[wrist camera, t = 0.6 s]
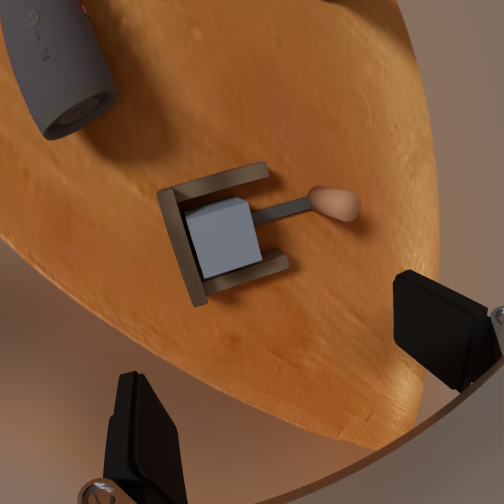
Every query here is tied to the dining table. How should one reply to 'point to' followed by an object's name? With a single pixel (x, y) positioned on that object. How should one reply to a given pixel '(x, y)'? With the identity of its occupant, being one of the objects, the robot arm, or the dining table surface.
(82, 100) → the bluetooth speaker
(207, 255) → the block
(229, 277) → the dark u-shaped frame
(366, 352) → the dining table surface
